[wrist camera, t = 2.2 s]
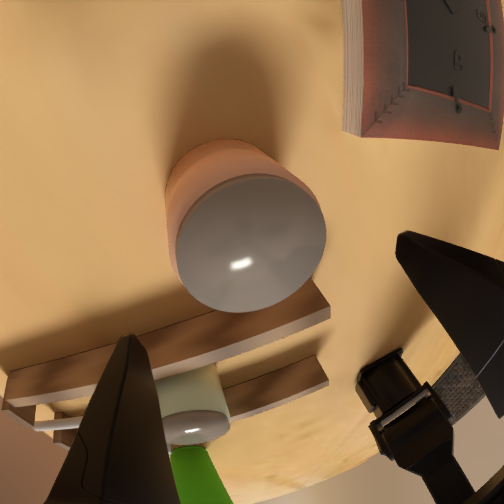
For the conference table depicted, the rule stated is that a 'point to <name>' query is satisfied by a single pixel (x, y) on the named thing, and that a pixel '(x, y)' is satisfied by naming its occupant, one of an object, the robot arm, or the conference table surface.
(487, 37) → the picture frame
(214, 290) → the jar
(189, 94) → the conference table surface
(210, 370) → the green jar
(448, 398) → the storage bin
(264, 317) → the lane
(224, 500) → the cup
